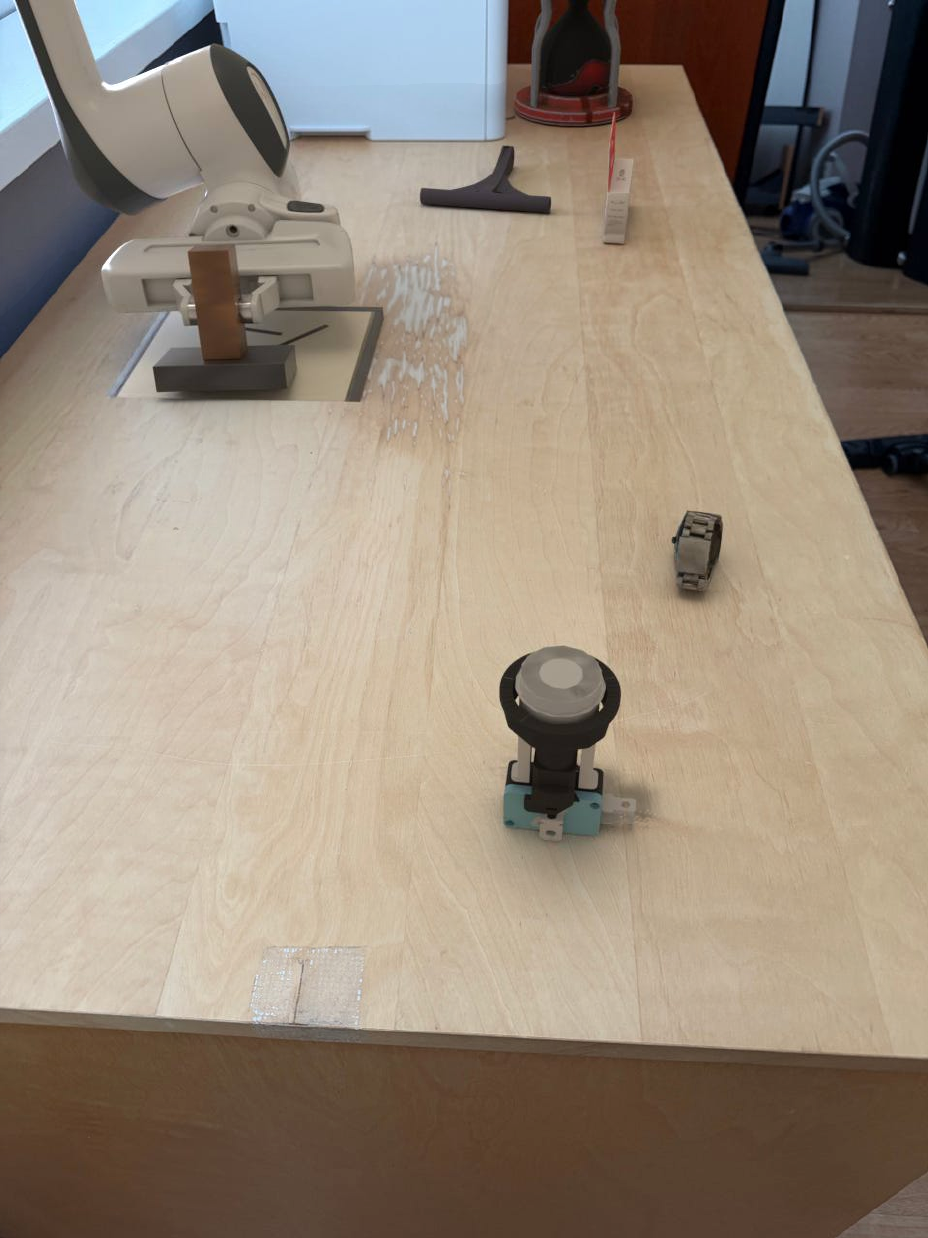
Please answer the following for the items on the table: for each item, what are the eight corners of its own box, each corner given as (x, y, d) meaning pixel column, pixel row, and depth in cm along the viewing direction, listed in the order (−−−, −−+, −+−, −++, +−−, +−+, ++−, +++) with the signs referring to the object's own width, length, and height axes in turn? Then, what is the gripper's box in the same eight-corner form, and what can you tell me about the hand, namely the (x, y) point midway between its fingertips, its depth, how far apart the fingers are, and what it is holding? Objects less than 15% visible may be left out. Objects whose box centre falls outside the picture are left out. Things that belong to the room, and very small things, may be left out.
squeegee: (568, 169, 124) (569, 145, 122) (548, 214, 113) (549, 188, 111) (450, 163, 126) (450, 139, 124) (420, 207, 115) (418, 181, 113)
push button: (634, 784, 53) (654, 640, 46) (631, 871, 49) (653, 727, 42) (504, 771, 54) (506, 627, 47) (492, 856, 50) (492, 711, 43)
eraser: (156, 392, 79) (133, 255, 75) (174, 372, 85) (154, 243, 80) (287, 388, 79) (272, 251, 75) (297, 368, 85) (284, 239, 80)
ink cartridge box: (629, 206, 114) (638, 110, 108) (625, 245, 106) (634, 144, 100) (607, 205, 115) (614, 110, 108) (601, 244, 106) (608, 143, 100)
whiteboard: (87, 440, 79) (83, 428, 78) (167, 313, 96) (165, 303, 95) (347, 446, 78) (346, 434, 77) (383, 317, 94) (383, 306, 94)
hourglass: (572, 135, 134) (584, -100, 117) (489, 108, 143) (490, -113, 126) (657, 110, 141) (679, -114, 125) (573, 86, 151) (584, -125, 134)
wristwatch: (713, 595, 66) (725, 518, 66) (703, 589, 61) (716, 505, 62) (666, 589, 67) (677, 513, 67) (652, 582, 63) (665, 500, 63)
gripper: (112, 212, 88) (72, 280, 77) (355, 204, 88) (348, 271, 78) (129, 284, 92) (94, 358, 81) (361, 276, 92) (355, 349, 82)
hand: (220, 315), depth 79 cm, fingers closed on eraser, 3 cm apart
